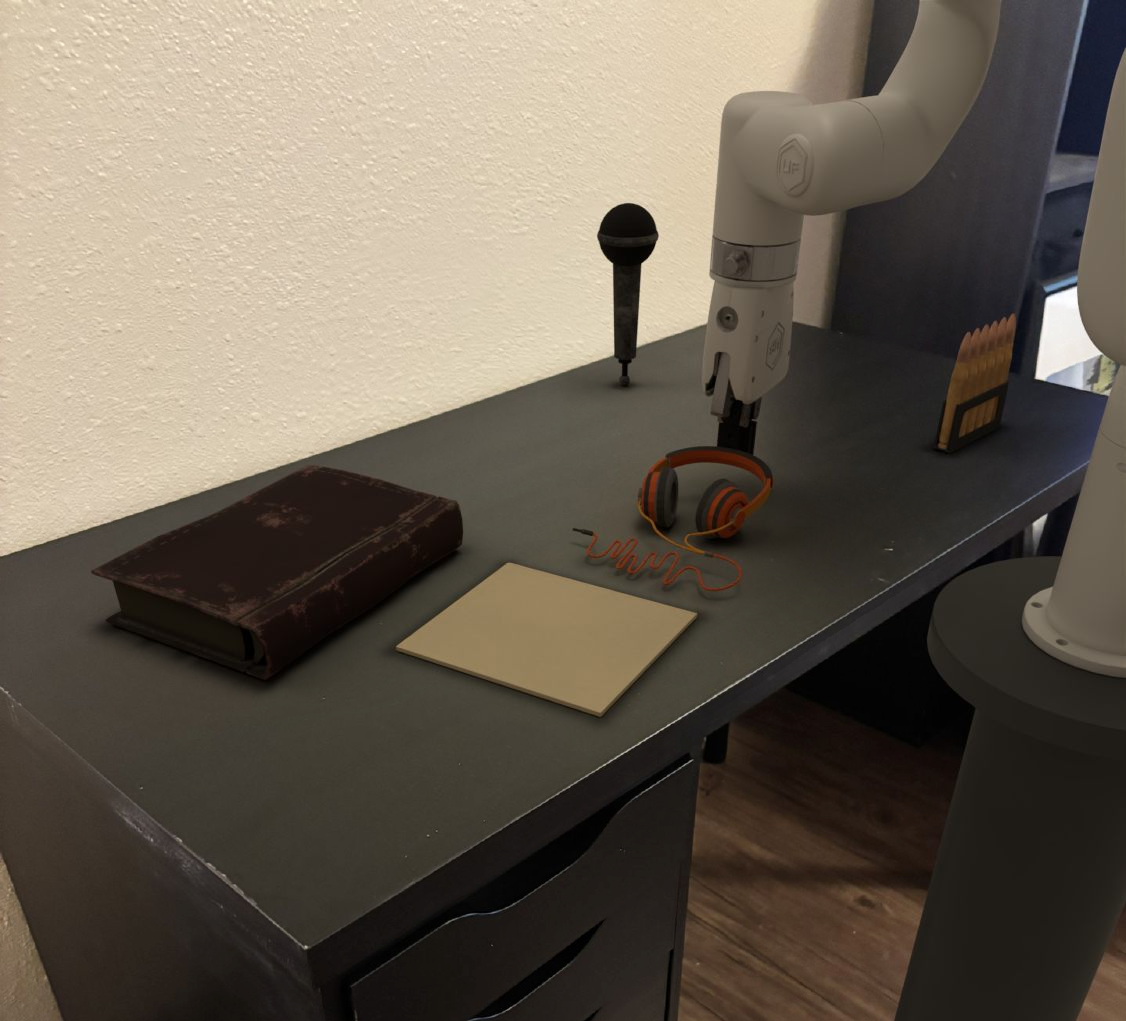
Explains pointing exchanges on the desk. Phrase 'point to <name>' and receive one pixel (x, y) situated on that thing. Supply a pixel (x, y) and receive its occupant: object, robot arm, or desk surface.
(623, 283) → the microphone
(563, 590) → the flat square board
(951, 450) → the ammunition clip
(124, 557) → the diary
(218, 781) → the desk surface
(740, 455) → the headphones
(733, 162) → the robot arm
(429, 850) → the desk surface
